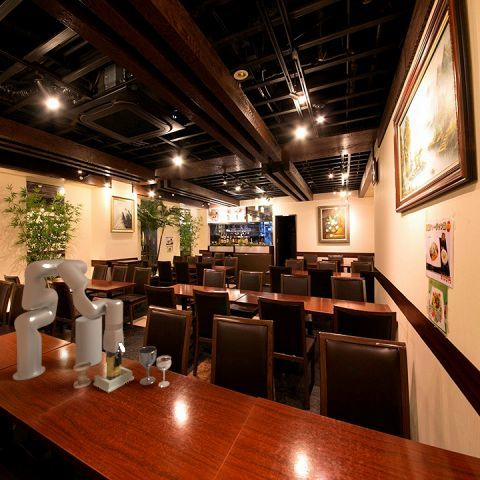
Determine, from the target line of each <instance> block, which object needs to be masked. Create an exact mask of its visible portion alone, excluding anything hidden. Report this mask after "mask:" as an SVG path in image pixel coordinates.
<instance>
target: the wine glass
mask: <svg viewBox="0 0 480 480" xmlns="http://www.w3.org/2000/svg"><path fill="white" fill-rule="evenodd" d="M138 358H139V361H140V364H141V365H142V366H143V367H144V368H145V369H146V377H144V378H142V379H140V380H139V384H140V385H143V386H147V385H152V384H154V382H156V380H157V379H156V377H154V376H150V373H149V372H150V368H151V366H152V365H153V364H154V363H155V361H156V359H157V347H156V346H152V345H151V346H145V347H144V346H143V347H141V348H140V349H138Z"/></svg>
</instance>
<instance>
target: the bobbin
mask: <svg viewBox="0 0 480 480" xmlns="http://www.w3.org/2000/svg"><path fill="white" fill-rule="evenodd" d="M90 368H91V363H90V362H82V363H79V364H76V363H75V365H74V366H73V371H74V372H77V380H76V381H74V383H73V389H85V388H86V387H88V386H90V385H91V383H92V380H91V378H87V377H88V369H90Z"/></svg>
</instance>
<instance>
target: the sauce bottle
mask: <svg viewBox="0 0 480 480" xmlns="http://www.w3.org/2000/svg"><path fill="white" fill-rule="evenodd" d="M118 350H119V349H118ZM117 353H118V354H119V352H117ZM106 355H107V363H106V368H105V369H106V370H105V371H106V372H105V373H106V374H105V375H106V377H107V379H108V380H113V379H115V378H117V377H119V376H120V373H121V367H122V364H121V365H119V366H117V367H115V358H116V356H115V353H112V352H109V351H107V354H106Z"/></svg>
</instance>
